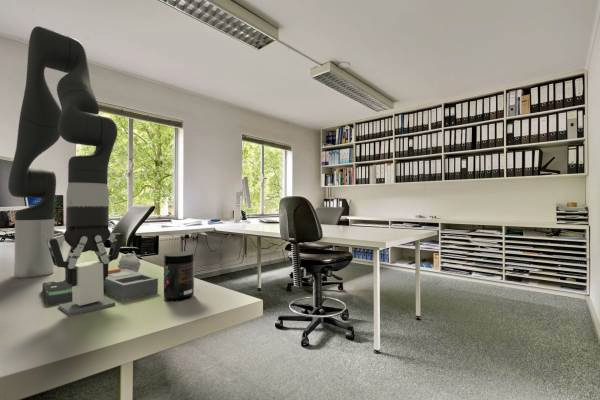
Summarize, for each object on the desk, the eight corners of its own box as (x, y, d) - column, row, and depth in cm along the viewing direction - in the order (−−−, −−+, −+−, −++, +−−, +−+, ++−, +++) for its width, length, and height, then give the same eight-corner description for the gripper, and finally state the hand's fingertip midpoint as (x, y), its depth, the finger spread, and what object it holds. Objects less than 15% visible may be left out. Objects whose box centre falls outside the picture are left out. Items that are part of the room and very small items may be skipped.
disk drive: (41, 294, 75) (46, 308, 65) (41, 283, 76) (46, 295, 65) (90, 286, 83) (102, 297, 72) (90, 276, 83) (102, 285, 72)
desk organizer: (85, 283, 83) (85, 268, 83) (117, 277, 89) (117, 263, 89) (123, 300, 68) (123, 281, 68) (157, 292, 75) (157, 275, 75)
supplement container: (178, 292, 75) (178, 250, 75) (200, 295, 73) (200, 252, 73) (156, 300, 69) (157, 255, 69) (179, 303, 66) (179, 257, 66)
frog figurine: (136, 273, 95) (136, 251, 96) (144, 276, 91) (144, 253, 91) (114, 276, 91) (115, 253, 91) (121, 280, 86) (121, 256, 86)
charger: (72, 301, 64) (71, 264, 64) (95, 295, 68) (95, 260, 68) (79, 305, 62) (78, 267, 61) (103, 299, 65) (102, 263, 65)
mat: (58, 307, 64) (58, 304, 64) (100, 298, 70) (100, 295, 70) (70, 316, 59) (70, 313, 59) (115, 305, 65) (115, 302, 65)
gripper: (116, 204, 73) (116, 274, 73) (40, 204, 61) (39, 287, 61) (130, 204, 68) (130, 279, 68) (51, 204, 57) (50, 294, 57)
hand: (87, 282), depth 65 cm, fingers open, 5 cm apart
